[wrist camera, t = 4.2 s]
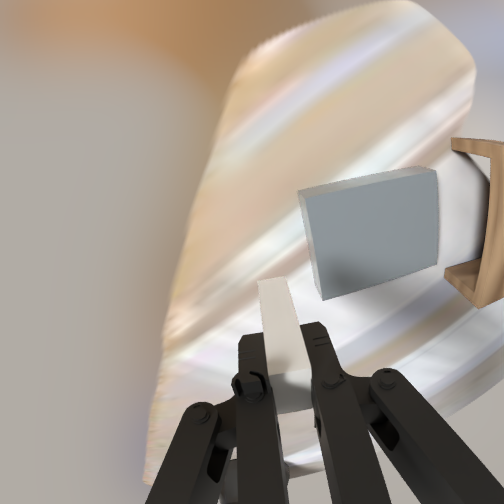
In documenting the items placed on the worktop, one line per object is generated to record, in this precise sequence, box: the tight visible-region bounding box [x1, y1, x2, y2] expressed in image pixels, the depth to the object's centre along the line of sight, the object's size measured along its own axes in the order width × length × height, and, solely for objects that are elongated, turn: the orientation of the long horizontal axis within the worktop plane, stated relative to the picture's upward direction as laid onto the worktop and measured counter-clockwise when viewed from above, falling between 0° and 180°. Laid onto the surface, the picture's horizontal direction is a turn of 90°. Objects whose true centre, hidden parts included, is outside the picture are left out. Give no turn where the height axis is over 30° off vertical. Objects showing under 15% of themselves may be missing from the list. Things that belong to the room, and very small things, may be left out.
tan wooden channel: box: [444, 138, 504, 309], centre depth 20 cm, size 8×15×7 cm, turn 10°
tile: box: [297, 166, 438, 301], centre depth 23 cm, size 12×9×3 cm
